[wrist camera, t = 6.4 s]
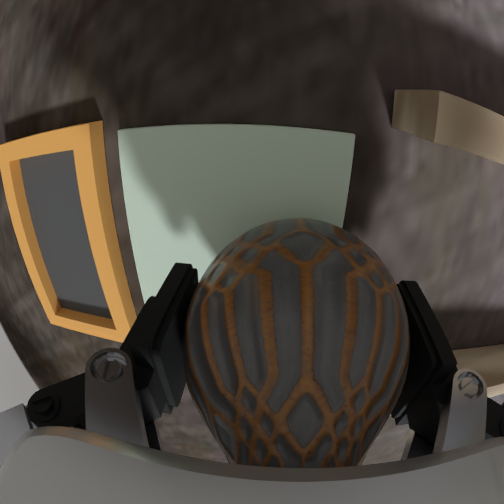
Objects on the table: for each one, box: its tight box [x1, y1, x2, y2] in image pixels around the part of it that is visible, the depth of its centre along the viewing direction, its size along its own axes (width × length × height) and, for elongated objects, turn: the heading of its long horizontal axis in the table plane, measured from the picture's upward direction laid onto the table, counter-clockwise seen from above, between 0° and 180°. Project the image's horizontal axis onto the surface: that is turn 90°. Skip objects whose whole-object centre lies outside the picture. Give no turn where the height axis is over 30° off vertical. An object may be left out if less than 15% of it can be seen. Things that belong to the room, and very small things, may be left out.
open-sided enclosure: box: [390, 90, 504, 416], centre depth 10 cm, size 15×16×4 cm
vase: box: [183, 218, 410, 468], centre depth 8 cm, size 7×7×9 cm
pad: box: [118, 124, 355, 303], centre depth 12 cm, size 11×9×1 cm
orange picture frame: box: [0, 120, 137, 342], centre depth 13 cm, size 12×7×1 cm, turn 179°
